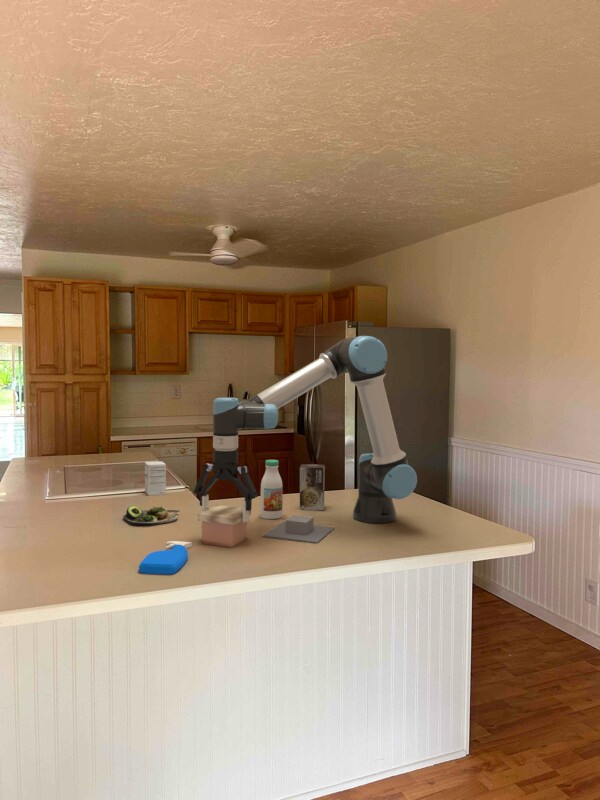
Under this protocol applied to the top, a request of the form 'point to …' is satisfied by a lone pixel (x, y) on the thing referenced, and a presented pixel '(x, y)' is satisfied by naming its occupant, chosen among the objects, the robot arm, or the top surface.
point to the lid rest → (299, 530)
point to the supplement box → (155, 478)
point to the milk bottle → (271, 492)
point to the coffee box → (312, 487)
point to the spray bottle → (166, 559)
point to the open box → (223, 533)
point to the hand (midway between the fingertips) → (225, 519)
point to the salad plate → (149, 516)
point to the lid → (222, 514)
